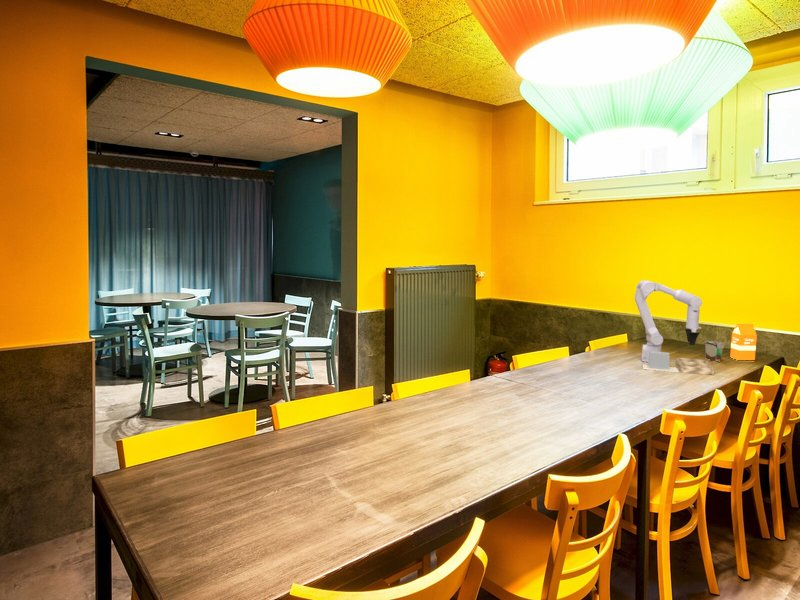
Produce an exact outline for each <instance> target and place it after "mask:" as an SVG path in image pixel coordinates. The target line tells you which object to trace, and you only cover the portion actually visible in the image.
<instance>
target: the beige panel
mask: <svg viewBox="0 0 800 600" xmlns="http://www.w3.org/2000/svg"><path fill="white" fill-rule="evenodd" d="M641 365H642V370H643V369H647V370H646V371H653V370H656V372H664V371H665V372H666V373H675V372H676V373H678V374H679V372H680V370H679V369H678V367H672V366H669V370H667V369H656V368H649V367H648V365H649V364H641ZM665 372H664V373H665Z"/></svg>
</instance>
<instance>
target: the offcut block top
mask: <svg viewBox="0 0 800 600" xmlns="http://www.w3.org/2000/svg"><path fill="white" fill-rule="evenodd" d="M690 367H700V368H701V363H699V362H690Z"/></svg>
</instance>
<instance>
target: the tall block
mask: <svg viewBox="0 0 800 600" xmlns="http://www.w3.org/2000/svg"><path fill="white" fill-rule="evenodd" d="M670 355H671V354H670V352H664V351H661V352H652V351H649V362H648V364H647V365H648V367H649V368H656V369H667V370H669V367H670Z"/></svg>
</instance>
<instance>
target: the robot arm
mask: <svg viewBox="0 0 800 600" xmlns="http://www.w3.org/2000/svg"><path fill="white" fill-rule="evenodd" d="M635 290H636V291H635V294H634V301H635V305H636V307H637V309H638V311H639V314H640V317H641V320H642V323H643V325H644V328H645V330H644V332H645V334H646V335H645V340H646V341H647V342H646V343H645V344H642V348H641V356H640V357H641V362H643V361H644V363H649V351H652V352H662V344H663V343H664V337H663V336H662V335H661V333H660V332H659V330H658V329H657V327H656V324H655V321H654V319H653V315H652V313H651V311H650V308H649V306H648V303H647V298H648V297H649V296H650V295H651V294H652V293H653V292H662V293H664V294H667V295H669V296H672V297H673V299H674V300H675V301H677V302H680V303H682V304H686V305H687V311H686V325H685V329H684V331H685V333H686V339H687V343H689V345H690V346H695V345H696V343H697V339H698V336H699V335H700V332H697V331H698V330H701V329H702V327H701V326H699V325H700V323H699V322H700V314H701V313H700V311H701V309H700V308H701V306H702V305H703V300H702V299H701V297H699V296H697V295H694V293H690V292H688V291H686V290H684V289H676V290H675V289H673V288H670V287H669V286H666V285H663V284H661V283H659V282H653V281H650V280H646V279H644V280H643V279H642V280H641V281H639V282H638V284H637V285H636V289H635Z"/></svg>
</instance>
